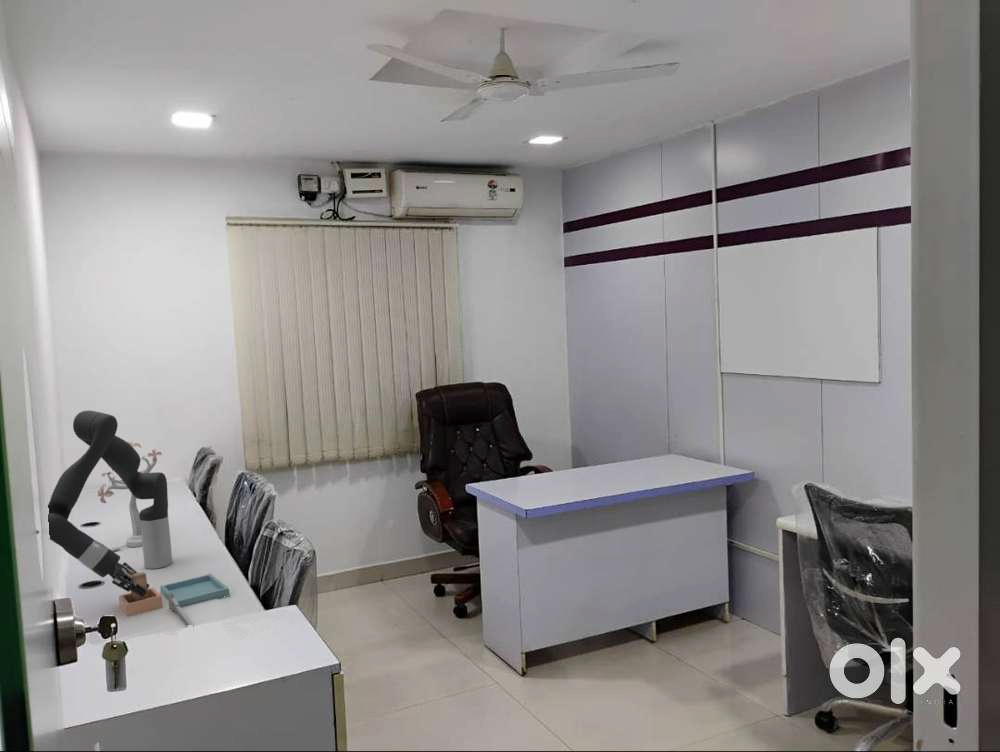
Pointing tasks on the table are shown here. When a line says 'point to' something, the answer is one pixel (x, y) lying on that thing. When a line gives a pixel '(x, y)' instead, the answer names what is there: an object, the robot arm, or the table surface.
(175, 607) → the caliper
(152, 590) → the peach open box
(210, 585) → the tray
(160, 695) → the table surface
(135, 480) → the robot arm
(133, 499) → the decorative lamp
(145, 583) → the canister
